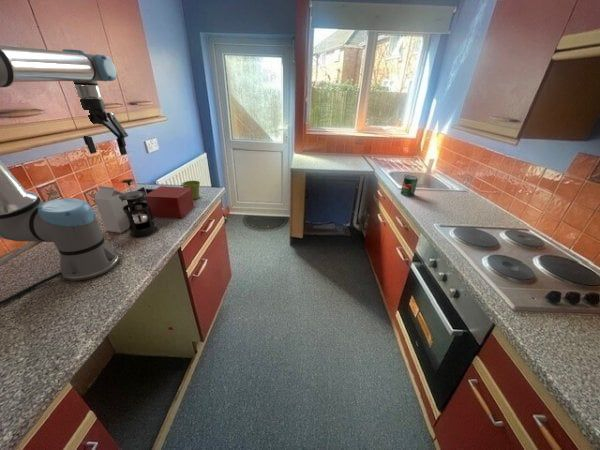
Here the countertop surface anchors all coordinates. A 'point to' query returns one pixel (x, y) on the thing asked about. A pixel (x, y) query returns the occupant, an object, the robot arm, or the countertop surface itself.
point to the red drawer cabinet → (170, 202)
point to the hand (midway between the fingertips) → (108, 153)
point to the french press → (138, 220)
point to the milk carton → (112, 209)
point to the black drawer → (142, 201)
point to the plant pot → (193, 188)
